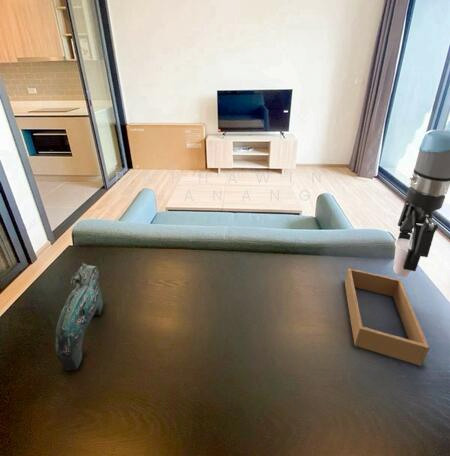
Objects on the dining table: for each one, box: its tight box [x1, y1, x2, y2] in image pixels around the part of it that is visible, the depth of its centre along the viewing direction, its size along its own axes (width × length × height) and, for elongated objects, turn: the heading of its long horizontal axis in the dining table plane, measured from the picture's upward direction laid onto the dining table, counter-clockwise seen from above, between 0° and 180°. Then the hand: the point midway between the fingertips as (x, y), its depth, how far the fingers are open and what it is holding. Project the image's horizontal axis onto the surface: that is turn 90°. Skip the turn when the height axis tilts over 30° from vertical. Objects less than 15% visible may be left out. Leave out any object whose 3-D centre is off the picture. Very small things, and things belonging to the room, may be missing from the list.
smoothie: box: [392, 233, 413, 278], centre depth 70 cm, size 6×6×14 cm
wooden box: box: [344, 267, 430, 367], centre depth 73 cm, size 16×22×7 cm
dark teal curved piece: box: [54, 262, 104, 371], centre depth 67 cm, size 20×6×20 cm, turn 5°
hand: (404, 260), depth 71 cm, fingers closed on smoothie, 6 cm apart
